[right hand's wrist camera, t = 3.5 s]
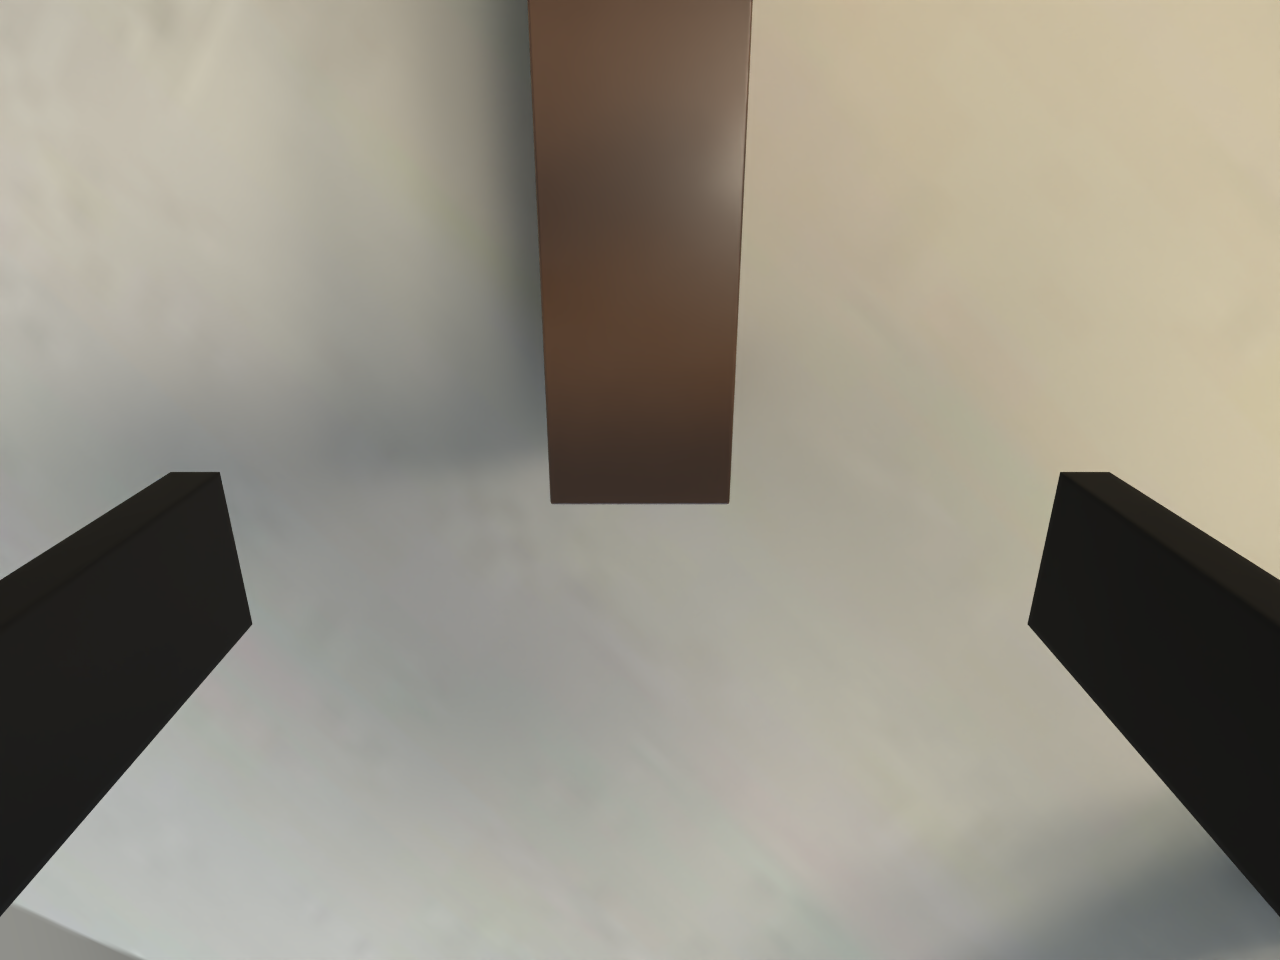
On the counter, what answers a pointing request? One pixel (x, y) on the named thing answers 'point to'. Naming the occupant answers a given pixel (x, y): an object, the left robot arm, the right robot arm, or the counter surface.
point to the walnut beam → (639, 242)
